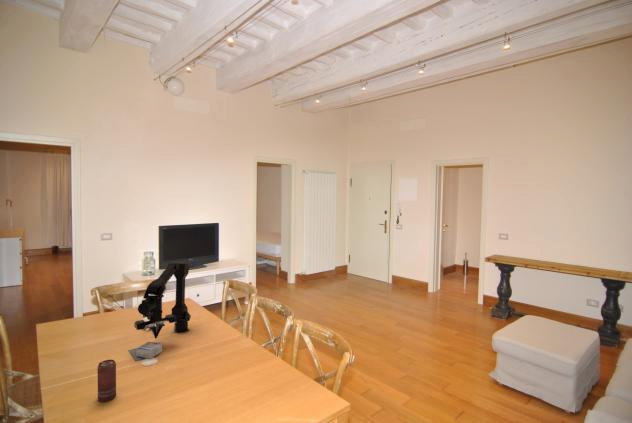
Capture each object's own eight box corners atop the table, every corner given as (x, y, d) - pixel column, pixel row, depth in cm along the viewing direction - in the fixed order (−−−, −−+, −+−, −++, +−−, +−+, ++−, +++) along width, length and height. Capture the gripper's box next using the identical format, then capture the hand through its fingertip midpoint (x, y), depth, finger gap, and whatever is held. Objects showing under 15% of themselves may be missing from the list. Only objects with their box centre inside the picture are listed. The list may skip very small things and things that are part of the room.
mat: (149, 345, 182) (149, 344, 182) (157, 355, 172) (157, 354, 172) (128, 350, 176) (128, 350, 176) (135, 361, 165) (135, 360, 165)
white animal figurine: (148, 317, 199) (134, 315, 204) (149, 332, 199) (135, 329, 204) (157, 314, 204) (144, 312, 210) (158, 328, 204) (145, 326, 210)
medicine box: (162, 342, 175) (150, 349, 166) (162, 351, 175) (150, 358, 166) (148, 341, 176) (136, 348, 168) (148, 350, 176) (136, 357, 168)
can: (102, 393, 139) (102, 359, 138) (118, 393, 139) (118, 358, 138) (93, 402, 133) (93, 366, 132) (111, 402, 133) (111, 366, 132)
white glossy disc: (155, 358, 169) (155, 356, 169) (159, 364, 164) (159, 361, 164) (139, 362, 165) (139, 360, 165) (143, 368, 159) (143, 366, 159)
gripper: (169, 300, 189) (169, 329, 190) (131, 307, 177) (131, 337, 177) (176, 306, 180) (176, 335, 181) (137, 313, 168) (137, 345, 169)
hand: (155, 338), depth 177 cm, fingers closed
